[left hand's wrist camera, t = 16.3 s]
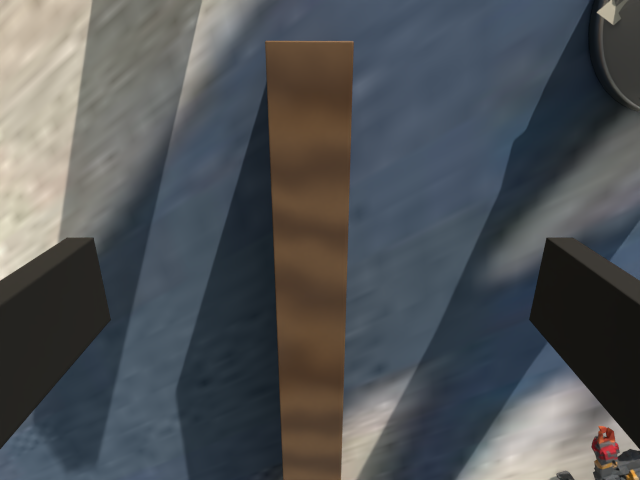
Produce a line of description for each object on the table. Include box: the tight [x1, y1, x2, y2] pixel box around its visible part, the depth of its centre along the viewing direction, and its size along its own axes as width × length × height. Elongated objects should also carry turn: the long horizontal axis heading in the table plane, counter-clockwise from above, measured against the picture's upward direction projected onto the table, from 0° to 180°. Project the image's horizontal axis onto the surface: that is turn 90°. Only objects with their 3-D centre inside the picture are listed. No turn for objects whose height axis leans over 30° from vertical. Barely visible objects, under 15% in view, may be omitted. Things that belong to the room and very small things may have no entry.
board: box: [265, 41, 354, 480], centre depth 40 cm, size 58×5×8 cm, turn 0°
